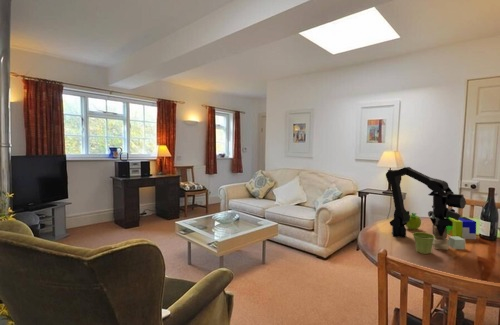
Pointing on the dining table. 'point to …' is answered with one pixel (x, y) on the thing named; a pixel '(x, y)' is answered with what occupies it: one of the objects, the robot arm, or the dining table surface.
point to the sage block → (456, 242)
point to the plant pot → (423, 242)
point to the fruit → (414, 222)
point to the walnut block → (436, 233)
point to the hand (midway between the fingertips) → (439, 234)
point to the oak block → (440, 243)
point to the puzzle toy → (462, 228)
